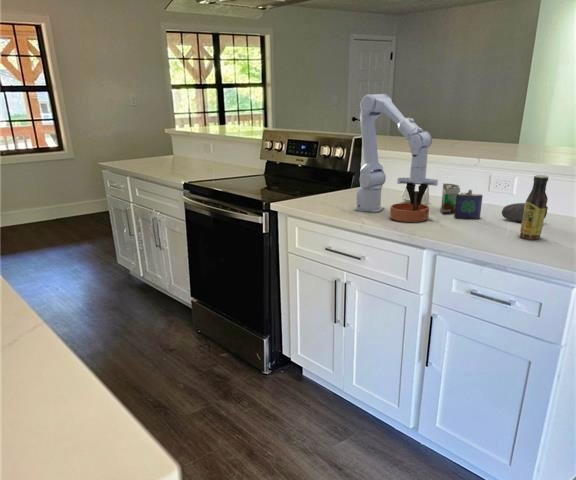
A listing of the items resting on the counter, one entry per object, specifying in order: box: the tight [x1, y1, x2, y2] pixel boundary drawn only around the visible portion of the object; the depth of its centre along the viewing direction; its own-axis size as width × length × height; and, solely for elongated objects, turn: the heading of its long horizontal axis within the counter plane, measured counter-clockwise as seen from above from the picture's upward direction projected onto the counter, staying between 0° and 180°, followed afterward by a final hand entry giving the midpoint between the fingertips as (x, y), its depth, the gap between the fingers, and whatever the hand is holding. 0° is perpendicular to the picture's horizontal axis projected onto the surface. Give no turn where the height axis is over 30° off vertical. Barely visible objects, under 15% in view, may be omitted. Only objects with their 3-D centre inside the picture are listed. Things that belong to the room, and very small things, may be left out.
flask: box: [454, 189, 483, 220], centre depth 188 cm, size 9×3×11 cm, turn 74°
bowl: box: [389, 202, 430, 223], centre depth 192 cm, size 14×14×4 cm
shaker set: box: [400, 182, 430, 205], centre depth 215 cm, size 12×4×11 cm, turn 48°
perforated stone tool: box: [501, 202, 549, 223], centre depth 182 cm, size 15×5×7 cm, turn 51°
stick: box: [412, 190, 419, 211], centre depth 190 cm, size 2×2×8 cm
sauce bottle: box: [519, 174, 549, 240], centre depth 160 cm, size 7×6×20 cm
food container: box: [440, 182, 461, 215], centre depth 199 cm, size 12×6×10 cm, turn 168°
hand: (415, 203), depth 190 cm, fingers closed on stick, 2 cm apart
